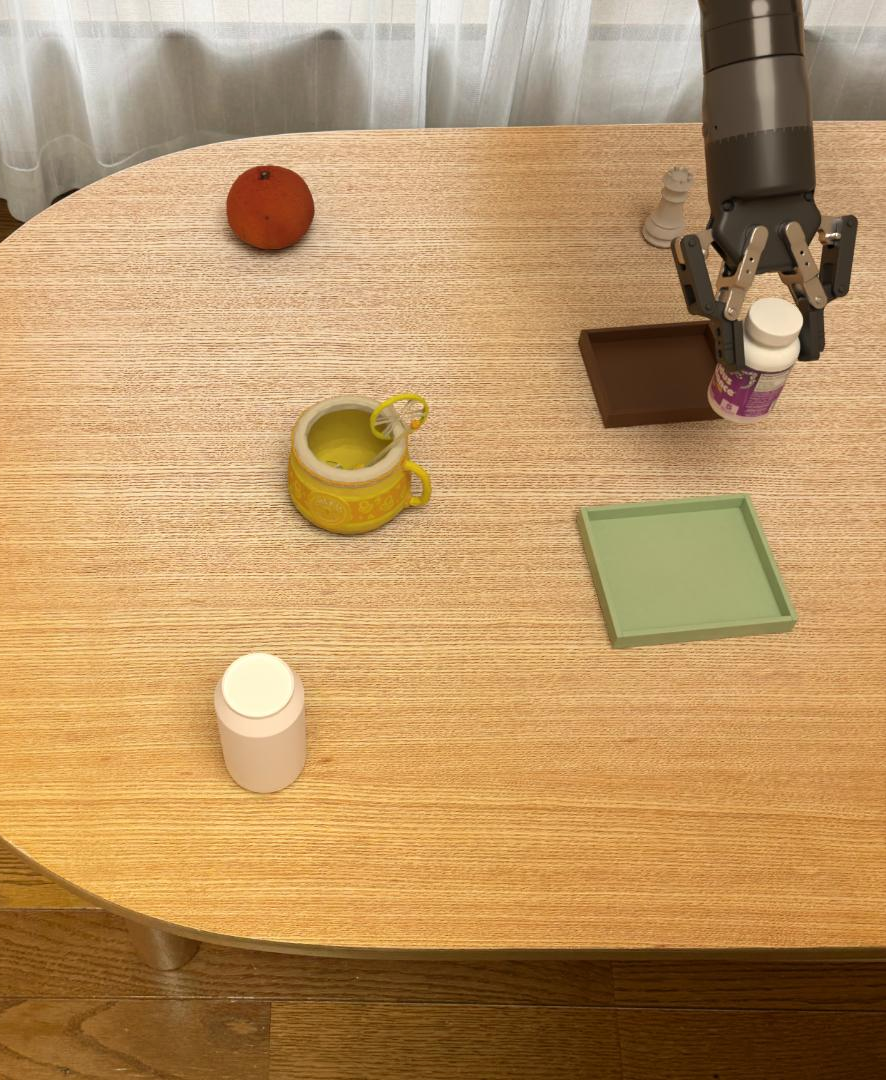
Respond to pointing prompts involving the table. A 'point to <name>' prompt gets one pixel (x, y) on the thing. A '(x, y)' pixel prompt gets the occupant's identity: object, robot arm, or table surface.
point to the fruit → (270, 207)
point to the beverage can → (261, 722)
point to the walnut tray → (651, 372)
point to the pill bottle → (759, 363)
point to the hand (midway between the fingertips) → (771, 364)
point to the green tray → (684, 571)
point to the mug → (354, 462)
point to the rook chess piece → (669, 209)
